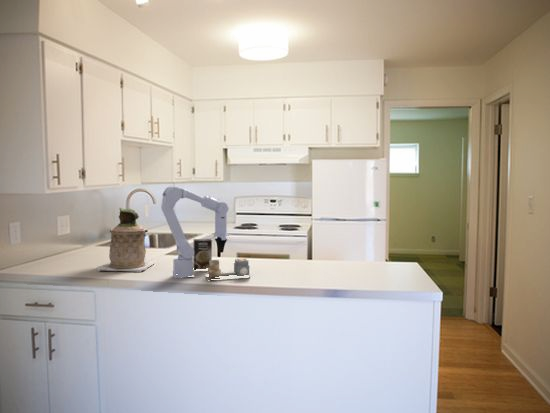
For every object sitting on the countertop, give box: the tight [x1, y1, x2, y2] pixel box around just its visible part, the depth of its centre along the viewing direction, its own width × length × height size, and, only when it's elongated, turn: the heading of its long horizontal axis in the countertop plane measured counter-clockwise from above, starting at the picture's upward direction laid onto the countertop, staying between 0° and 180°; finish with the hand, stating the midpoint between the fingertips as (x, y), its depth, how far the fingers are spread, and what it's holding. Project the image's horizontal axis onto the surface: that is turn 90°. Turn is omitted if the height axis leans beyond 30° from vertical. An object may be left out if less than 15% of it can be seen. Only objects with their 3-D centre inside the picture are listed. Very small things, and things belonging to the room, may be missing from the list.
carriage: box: [207, 259, 222, 276], centre depth 194 cm, size 5×6×7 cm
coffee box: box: [192, 238, 213, 271], centre depth 211 cm, size 9×6×16 cm
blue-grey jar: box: [233, 258, 250, 276], centre depth 198 cm, size 6×8×7 cm, turn 19°
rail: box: [209, 270, 236, 277], centre depth 196 cm, size 13×2×2 cm, turn 109°
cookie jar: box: [96, 207, 157, 273], centre depth 216 cm, size 25×25×32 cm
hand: (220, 252), depth 206 cm, fingers closed
